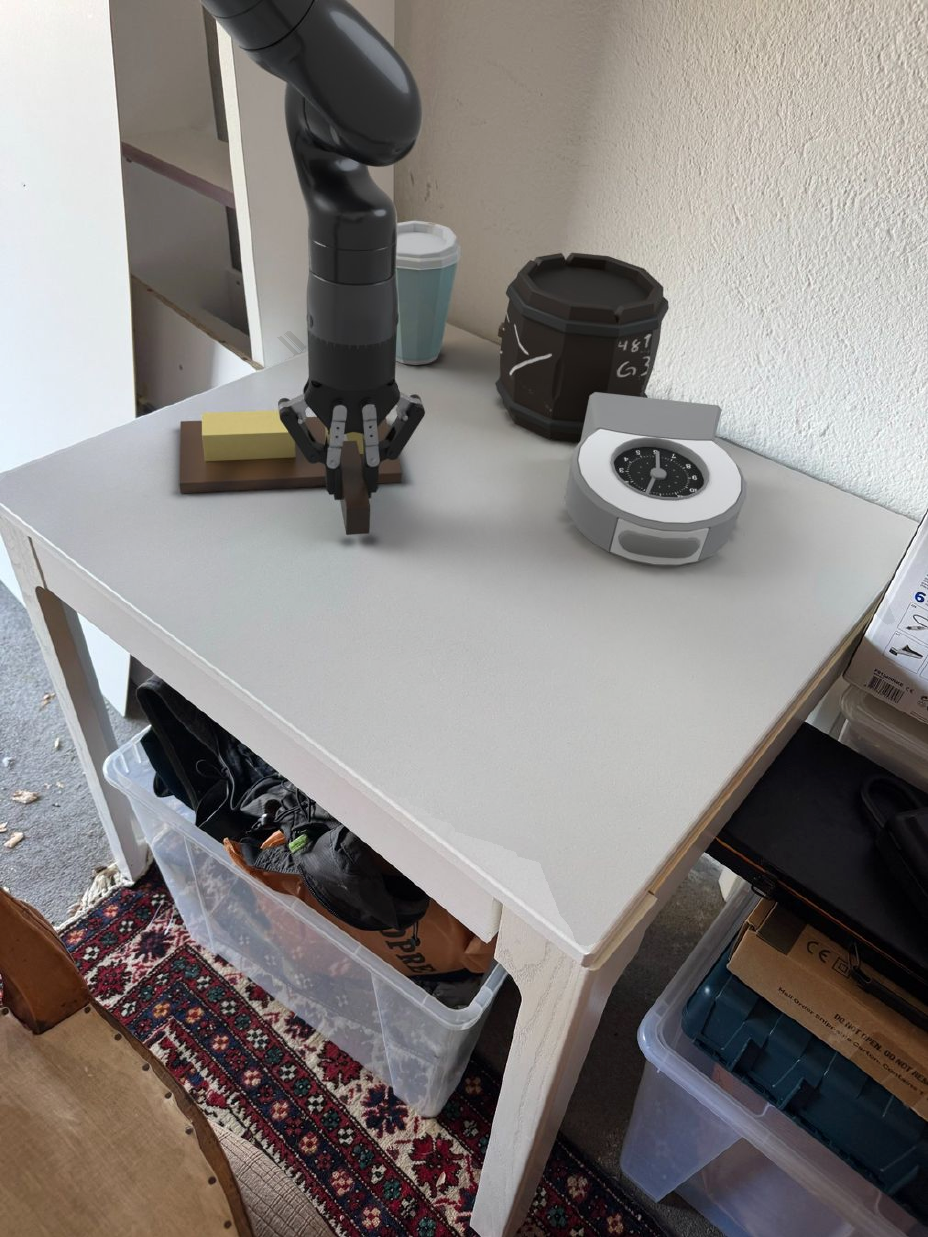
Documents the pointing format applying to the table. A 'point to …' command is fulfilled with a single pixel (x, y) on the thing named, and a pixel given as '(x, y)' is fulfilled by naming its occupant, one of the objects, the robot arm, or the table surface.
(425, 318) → the disposable coffee cup
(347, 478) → the knife
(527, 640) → the table surface
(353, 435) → the butter pat
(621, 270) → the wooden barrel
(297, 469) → the board
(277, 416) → the butter stick
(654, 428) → the alarm clock
